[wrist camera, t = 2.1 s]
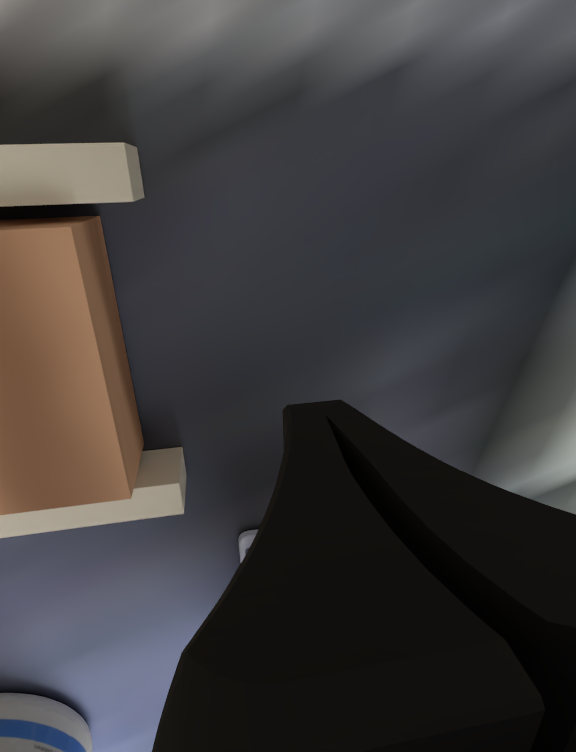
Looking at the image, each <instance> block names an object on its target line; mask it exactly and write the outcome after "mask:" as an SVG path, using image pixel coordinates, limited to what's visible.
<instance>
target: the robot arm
mask: <svg viewBox="0 0 576 752" xmlns="http://www.w3.org/2000/svg"><path fill="white" fill-rule="evenodd" d="M283 436H284V454H283V459H282V463H281V467H280V471H279V475H278V479H277V483H276V486H275V489H274V492H273V495H272V498H271V500H270V503H269V506H268V508H267V511H266V513H265V516H264V518H263V520H262V522H261V525H260V527H259V529H256V530H249V531H245V532H243V533H242V534H241V535H240V536H239V539H238V541H239V552H240V562H241V564H240V566H239V567H238V569H237V571H236V573H235V574H234V576H233V578H232V579H231V581H230V583H229V585H228V586H227V588H226V590H225V591H224V593H223V594H222V596H221V598H220V599H219V601H218V602H217V604H216V605H215V607H214V608H213V609H212V611H211V612H210V614H209V615H208V616H207V618H206V619H205V621H204V622H203V623H202V625H201V626H200V628H199V629H198V631H197V632H196V633H195V635H194V636H193V638H192V639H191V640H190V642H189V643H188V645H187V646H186V647H185V649H184V650H183V652H182V654H181V657H180V660H179V662H178V665H177V668H176V671H175V674H174V677H173V680H172V683H171V686H170V689H169V692H168V695H167V699H166V702H165V705H164V709H163V712H162V715H161V718H160V722H159V726H158V729H157V733H156V737H155V741H154V745H153V750H152V752H576V515H575V514H572V513H569V512H566V511H563V510H560V509H557V508H553V507H551V506H548V505H545V504H542V503H539V502H537V501H534V500H531V499H528V498H526V497H523V496H520V495H517V494H515V493H512V492H509V491H507V490H504V489H502V488H499V487H497V486H494V485H492V484H489V483H487V482H485V481H483V480H480V479H478V478H476V477H474V476H472V475H469V474H467V473H465V472H463V471H460V470H458V469H456V468H454V467H452V466H450V465H448V464H446V463H444V462H442V461H440V460H438V459H437V458H435V457H433V456H431V455H429V454H427V453H426V452H424V451H422V450H420V449H418V448H416V447H415V446H413V445H411V444H410V443H408V442H406V441H404V440H403V439H401V438H400V437H398V436H396V435H395V434H393V433H391V432H390V431H388V430H387V429H385V428H384V427H382V426H380V425H379V424H377V423H376V422H374V421H373V420H371V419H370V418H368V417H367V416H365V415H364V414H362V413H361V412H359V411H358V410H356V409H355V408H353V407H352V406H350V405H348V404H347V403H345V402H343V401H342V400H332V401H323V402H313V403H303V404H294V405H287V406H286V407H285V408H284V409H283ZM249 547H250V548H249ZM247 548H249V549H247Z"/></svg>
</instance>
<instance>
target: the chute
mask: <svg viewBox="0 0 576 752" xmlns="http://www.w3.org/2000/svg"><path fill="white" fill-rule="evenodd" d="M142 198H145V197H144V190H143V184H142V177H141V170H140V164H139V157H138V151H137V147H135V146H132V145H129V144H127V143H124V142H122V143H68V144H15V145H0V207H3V206H30V205H58V204H85V203H112V202H134V201H137V200H139V199H142ZM186 476H187V475H186V468H185V461H184V455H183V448H182V447H176V448H167V449H158V450H149V451H142V454H141V459H140V463H139V467H138V471H137V476H136V480H135V484H134V489H133V493H132V497H131V499H125V500H117V501H109V502H102V503H94V504H86V505H78V506H70V507H62V508H54V509H46V510H39V511H31V512H23V513H15V514H7V515H0V538H6V537H13V536H21V535H28V534H36V533H43V532H51V531H58V530H65V529H73V528H80V527H88V526H95V525H103V524H110V523H118V522H125V521H133V520H140V519H148V518H155V517H163V516H170V515H178V514H184V506H185V491H186Z"/></svg>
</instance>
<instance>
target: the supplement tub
mask: <svg viewBox="0 0 576 752" xmlns="http://www.w3.org/2000/svg"><path fill="white" fill-rule="evenodd" d="M0 752H92V737H91V732H90V729H89V727H88V725H87V724H86V722H85V721H84V719H83V718H82V717H81V716H80V715H79V714H78V713H77V712H75V711H74V710H73V709H71V708H70V707H68V706H66V705H64V704H62V703H60V702H58V701H55V700H52V699H49V698H46V697H42V696H37V695H31V694H22V693H0Z"/></svg>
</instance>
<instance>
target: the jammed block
mask: <svg viewBox="0 0 576 752" xmlns="http://www.w3.org/2000/svg"><path fill="white" fill-rule="evenodd" d="M143 446H144V441H143V436H142V431H141V425H140V420H139V415H138V410H137V405H136V400H135V395H134V389H133V384H132V379H131V374H130V369H129V364H128V358H127V353H126V348H125V343H124V338H123V333H122V327H121V322H120V317H119V312H118V307H117V302H116V297H115V291H114V286H113V281H112V276H111V271H110V266H109V260H108V255H107V250H106V245H105V240H104V235H103V230H102V224H101V219H100V216H78V217H53V218H29V219H4V220H0V515H7V514H15V513H23V512H31V511H39V510H46V509H54V508H62V507H70V506H78V505H86V504H94V503H102V502H109V501H117V500H125V499H131V497H132V493H133V489H134V484H135V480H136V476H137V471H138V467H139V463H140V459H141V454H142V450H143Z"/></svg>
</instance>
